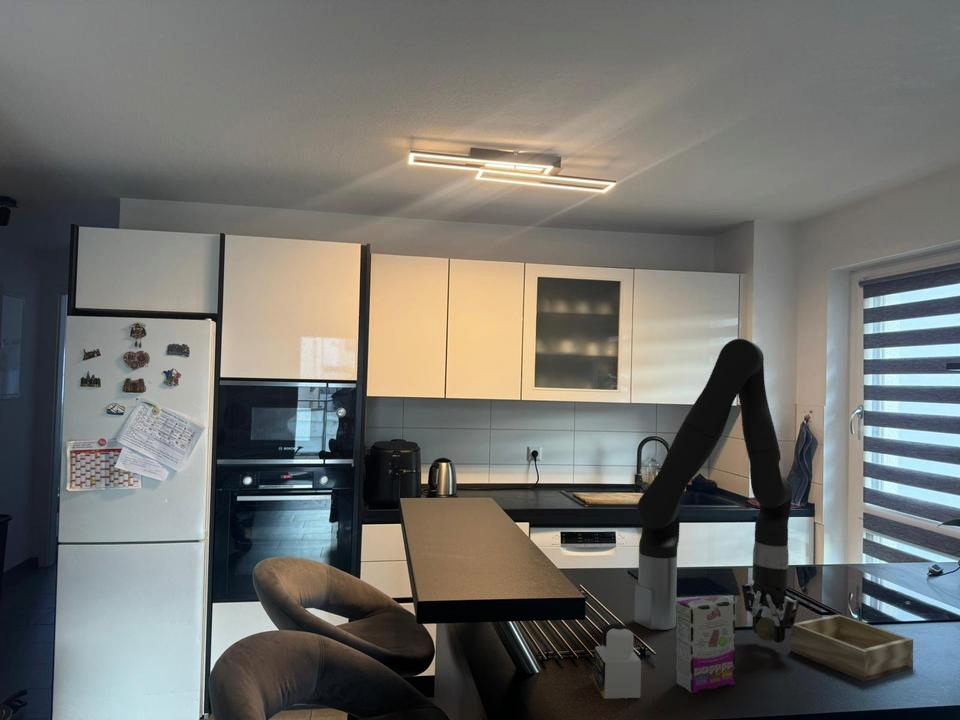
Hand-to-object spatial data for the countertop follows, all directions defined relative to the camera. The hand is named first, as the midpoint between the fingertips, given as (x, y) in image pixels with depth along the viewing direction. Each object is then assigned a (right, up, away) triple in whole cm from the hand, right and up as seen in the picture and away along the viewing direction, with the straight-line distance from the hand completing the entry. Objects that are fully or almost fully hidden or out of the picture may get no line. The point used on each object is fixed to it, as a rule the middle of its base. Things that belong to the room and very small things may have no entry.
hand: (768, 636), depth 151 cm
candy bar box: (-22, -1, -21) cm, 30 cm away
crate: (+16, -2, -6) cm, 17 cm away
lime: (0, -1, 0) cm, 1 cm away
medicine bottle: (-40, 0, -25) cm, 47 cm away
